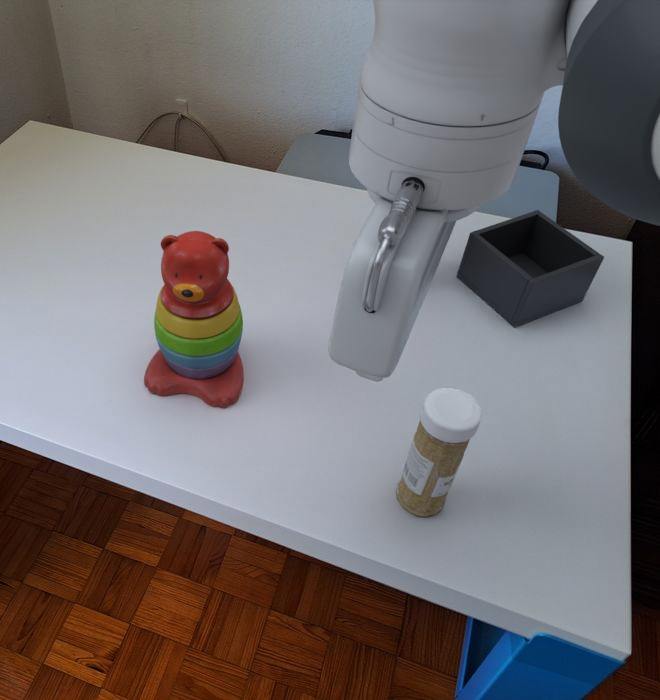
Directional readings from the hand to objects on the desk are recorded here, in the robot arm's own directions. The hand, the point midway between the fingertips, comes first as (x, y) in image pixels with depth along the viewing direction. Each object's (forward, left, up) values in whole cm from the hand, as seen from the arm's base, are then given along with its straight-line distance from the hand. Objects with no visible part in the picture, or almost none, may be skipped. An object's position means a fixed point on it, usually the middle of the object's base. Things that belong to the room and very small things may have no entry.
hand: (391, 324), depth 46 cm
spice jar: (-2, -7, -25) cm, 26 cm away
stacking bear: (+22, +5, -24) cm, 34 cm away
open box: (+17, -36, -24) cm, 47 cm away
